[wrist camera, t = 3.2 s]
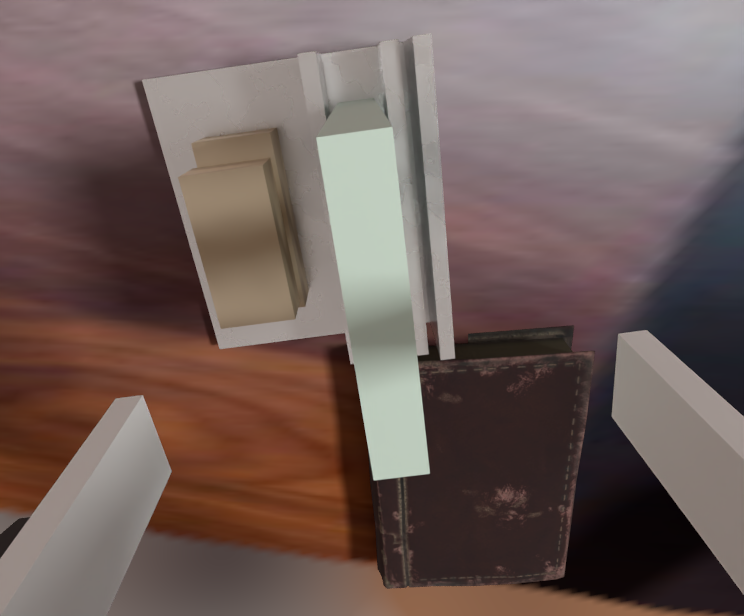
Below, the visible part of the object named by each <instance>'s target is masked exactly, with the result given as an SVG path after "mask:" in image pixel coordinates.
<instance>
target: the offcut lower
mask: <svg viewBox="0 0 744 616" xmlns="http://www.w3.org/2000/svg"><path fill="white" fill-rule="evenodd" d="M191 146H192V149H193V153H194V157H195V161H196V165H197V168H200V167H207V166H214V165H221V164H228V163H235V162H243V161H250V160H257V159H264V158H270V159H271V163H272V168H273V173H274V178H275V183H276V188H277V193H278V197H279V202H280V207H281V212H282V217H283V222H284V226H285V231H286V236H287V241H288V246H289V251H290V256H291V260H292V265H293V270H294V275H295V280H296V285H297V290H298V294H299V299H300V303H299V307H298V308H300V307H305V306H306V301H307V297H308V292H309V289H308V284H307V279H306V274H305V269H304V264H303V258H302V253H301V248H300V243H299V238H298V233H297V228H296V223H295V218H294V213H293V208H292V203H291V197H290V192H289V187H288V182H287V177H286V172H285V167H284V162H283V157H282V152H281V147H280V141H279V136H278V131H277V128H270V129H263V130H256V131H249V132H242V133H235V134H228V135H220V136H213V137H206V138H202V139H200V140H198V141H195V142H193V143H191Z"/></svg>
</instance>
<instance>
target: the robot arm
mask: <svg viewBox="0 0 744 616" xmlns="http://www.w3.org/2000/svg"><path fill="white" fill-rule="evenodd" d="M612 418H613V419H614V420H615V422H616V423H617V424H618V426H619V427H620V428H621V430H622V431H623V432H624V434H625V435H626V436H627V438H628V439H629V440H630V442H631V443H632V445H633V446H634V447H635V449H636V450H637V451H638V453H639V454H640V455H641V457H642V458H643V459H644V461H645V462H646V463H647V465H648V466H649V467H650V469H651V470H652V471H653V473H654V474H655V476H656V477H657V478H658V480H659V481H660V482H661V484H662V485H663V486H664V488H665V489H666V490H667V492H668V493H669V494H670V496H671V497H672V498H673V500H674V501H675V503H676V504H677V505H678V507H679V508H680V509H681V511H682V512H683V513H684V515H685V516H686V517H687V519H688V520H689V521H690V523H691V524H692V525H693V527H694V528H695V530H696V531H697V532H698V534H699V535H700V536H701V538H702V539H703V540H704V542H705V543H706V544H707V546H708V547H709V548H710V550H711V551H712V552H713V554H714V555H715V556H716V558H717V559H718V561H719V562H720V563H721V565H722V566H723V567H724V569H725V570H726V571H727V573H728V574H729V575H730V577H731V578H732V579H733V581H734V582H735V583H736V585H737V586H738V588H739V589H740V590H741V592H742V593H743V594H744V417H743V416H742V415H741V414H740V413H739V412H738V411H737V410H736V409H734V408H733V407H732V406H731V405H730V404H729V403H728V402H727V401H726V400H724V399H723V398H722V397H721V396H720V395H719V394H718V393H717V392H715V391H714V390H713V389H712V388H711V387H710V386H709V385H708V384H706V383H705V382H704V381H703V380H702V379H701V378H700V377H699V376H698V375H696V374H695V373H694V372H693V371H692V370H691V369H690V368H689V367H687V366H686V365H685V364H684V363H683V362H682V361H681V360H680V359H679V358H677V357H676V356H675V355H674V354H673V353H672V352H671V351H670V350H668V349H667V348H666V347H665V346H664V345H663V344H662V343H661V342H659V341H658V340H657V339H656V338H655V337H654V336H653V335H652V334H651V333H649V332H648V331H647V330H644V331H636V332H629V333H621V334H618V344H617V357H616V369H615V382H614V394H613V407H612ZM171 472H172V471H171V468H170V465H169V463H168V460H167V458H166V455H165V452H164V450H163V447H162V444H161V442H160V439H159V436H158V434H157V431H156V429H155V426H154V423H153V421H152V418H151V415H150V413H149V410H148V408H147V405H146V402H145V400H144V397H143V395H140V396H132V397H124V398H116V399H115V400H114V402H113V403H112V404H111V406H110V407H109V409H108V410H107V411H106V413H105V414H104V416H103V417H102V418H101V420H100V421H99V422H98V424H97V425H96V427H95V428H94V429H93V431H92V432H91V434H90V435H89V436H88V438H87V439H86V441H85V442H84V443H83V445H82V446H81V447H80V449H79V450H78V452H77V453H76V454H75V456H74V457H73V459H72V460H71V461H70V463H69V464H68V465H67V467H66V468H65V470H64V471H63V472H62V474H61V475H60V477H59V478H58V479H57V481H56V482H55V483H54V485H53V486H52V488H51V489H50V490H49V492H48V493H47V495H46V496H45V497H44V499H43V500H42V502H41V503H40V504H39V506H38V507H37V508H36V510H35V511H34V513H33V514H32V515H31V517H29V518H20V519H18V520H17V521H16V522H14V523H13V524H12V525H11V526H10V527H9V528H7V529H6V530H5V531H4V532H3V533H2V534H0V616H107V614H108V612H109V609H110V607H111V605H112V603H113V600H114V598H115V596H116V594H117V592H118V589H119V587H120V585H121V583H122V580H123V578H124V576H125V574H126V572H127V569H128V567H129V565H130V563H131V561H132V558H133V556H134V554H135V552H136V549H137V547H138V545H139V543H140V541H141V538H142V536H143V534H144V532H145V530H146V527H147V525H148V523H149V521H150V519H151V516H152V514H153V512H154V510H155V507H156V505H157V503H158V501H159V499H160V496H161V494H162V492H163V490H164V488H165V485H166V483H167V481H168V479H169V476H170V474H171Z"/></svg>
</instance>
